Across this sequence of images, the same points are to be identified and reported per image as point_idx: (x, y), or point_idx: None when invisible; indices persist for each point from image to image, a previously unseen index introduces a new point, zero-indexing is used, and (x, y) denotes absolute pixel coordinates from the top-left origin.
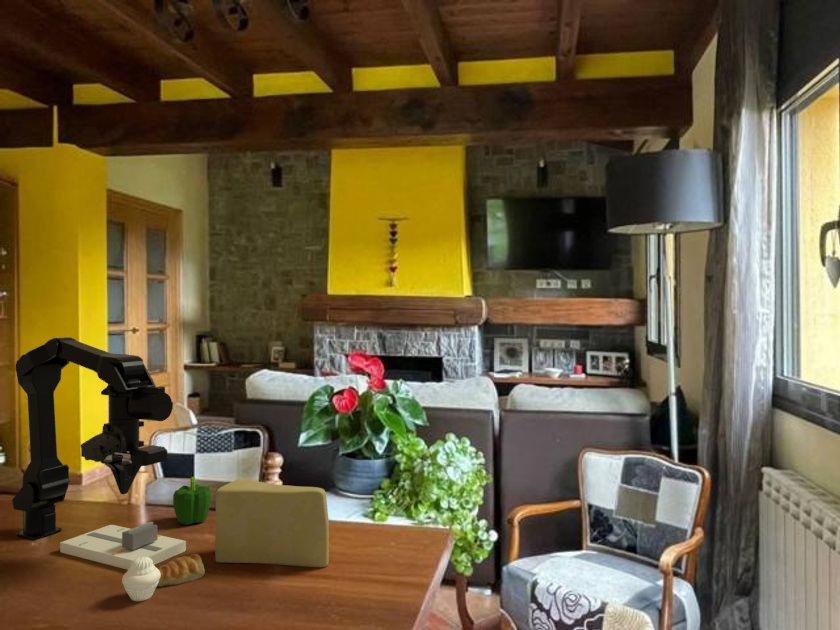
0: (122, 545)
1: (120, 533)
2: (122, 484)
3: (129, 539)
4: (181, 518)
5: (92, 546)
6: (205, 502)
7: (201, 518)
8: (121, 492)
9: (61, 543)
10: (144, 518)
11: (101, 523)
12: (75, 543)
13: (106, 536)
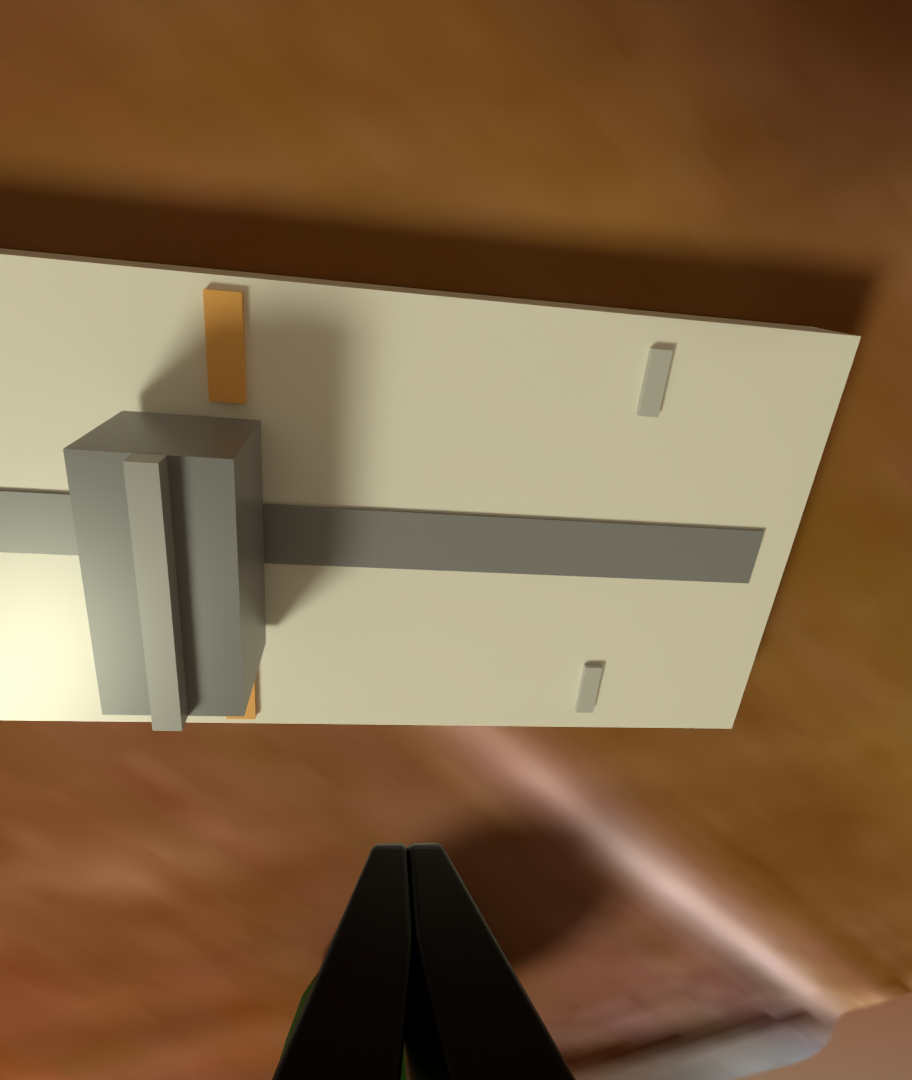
0: (253, 424)
1: (546, 643)
2: (338, 1011)
3: (141, 437)
4: None
5: (545, 370)
6: None
7: (306, 993)
8: (406, 860)
9: (842, 333)
10: (680, 899)
11: (869, 769)
12: (725, 367)
13: (593, 560)
